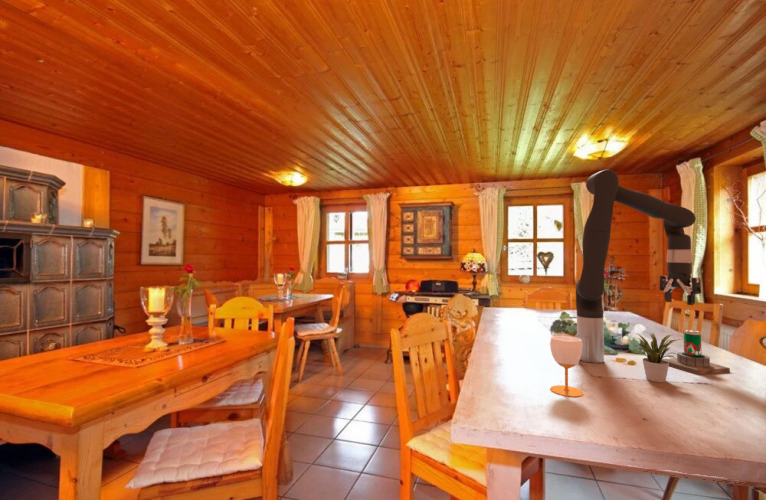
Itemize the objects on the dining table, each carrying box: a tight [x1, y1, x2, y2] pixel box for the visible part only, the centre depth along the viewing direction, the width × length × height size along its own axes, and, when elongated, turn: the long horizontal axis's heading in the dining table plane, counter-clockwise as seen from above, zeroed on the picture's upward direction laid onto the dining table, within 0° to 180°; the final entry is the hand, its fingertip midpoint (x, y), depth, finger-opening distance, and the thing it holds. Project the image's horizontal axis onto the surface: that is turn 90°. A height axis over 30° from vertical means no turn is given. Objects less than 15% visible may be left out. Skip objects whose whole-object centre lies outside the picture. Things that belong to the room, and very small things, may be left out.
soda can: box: [682, 329, 703, 358], centre depth 133 cm, size 5×5×12 cm
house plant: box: [634, 330, 685, 383], centre depth 119 cm, size 14×14×16 cm
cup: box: [549, 335, 584, 398], centre depth 109 cm, size 9×9×16 cm
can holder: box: [662, 351, 731, 376], centre depth 133 cm, size 14×14×4 cm
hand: (679, 303), depth 138 cm, fingers open, 8 cm apart
